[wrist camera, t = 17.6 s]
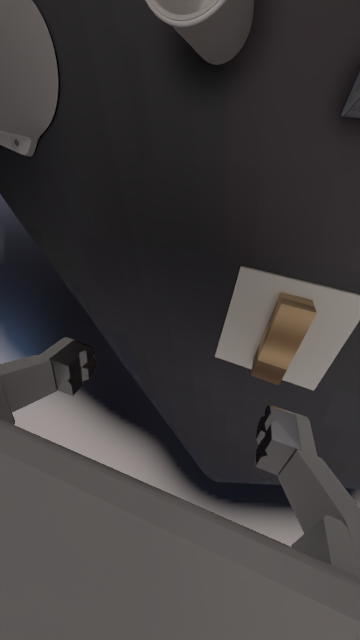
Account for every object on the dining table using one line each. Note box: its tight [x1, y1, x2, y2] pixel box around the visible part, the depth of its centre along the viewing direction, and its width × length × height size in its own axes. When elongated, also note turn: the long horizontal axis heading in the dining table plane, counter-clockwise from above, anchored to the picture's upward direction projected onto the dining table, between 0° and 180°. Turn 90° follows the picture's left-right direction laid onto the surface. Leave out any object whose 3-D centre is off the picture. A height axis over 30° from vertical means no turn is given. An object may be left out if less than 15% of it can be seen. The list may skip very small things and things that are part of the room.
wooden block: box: [251, 292, 317, 385], centre depth 32 cm, size 12×4×4 cm, turn 171°
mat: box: [215, 266, 360, 390], centre depth 33 cm, size 16×16×1 cm
